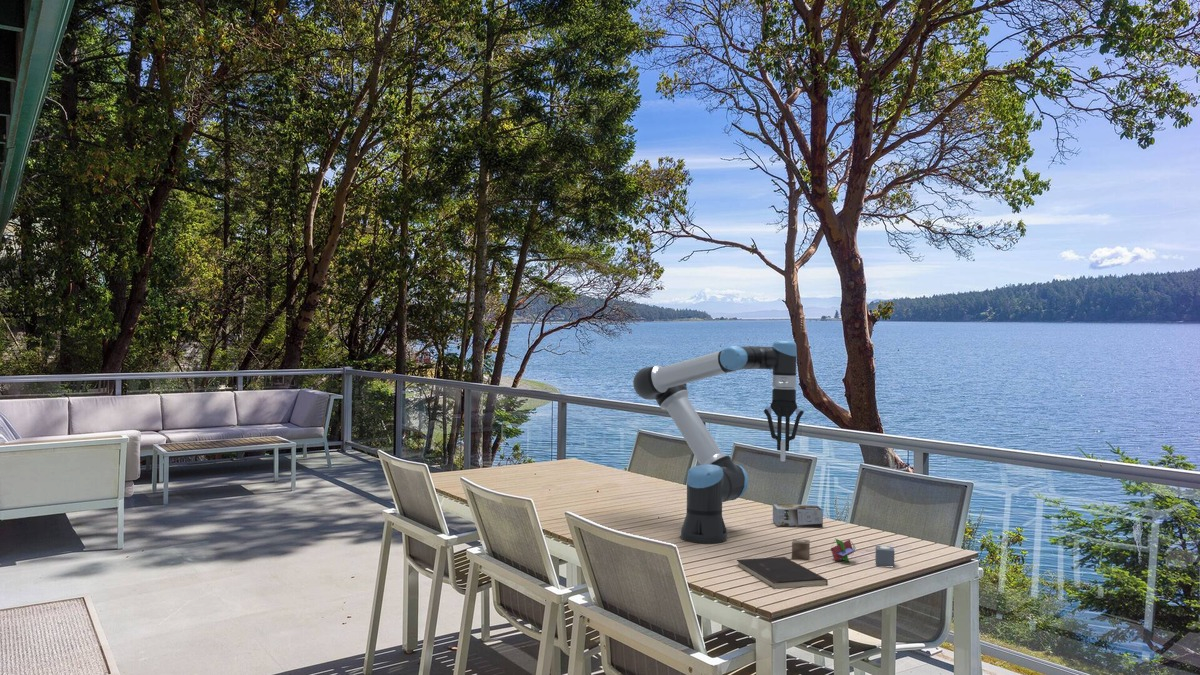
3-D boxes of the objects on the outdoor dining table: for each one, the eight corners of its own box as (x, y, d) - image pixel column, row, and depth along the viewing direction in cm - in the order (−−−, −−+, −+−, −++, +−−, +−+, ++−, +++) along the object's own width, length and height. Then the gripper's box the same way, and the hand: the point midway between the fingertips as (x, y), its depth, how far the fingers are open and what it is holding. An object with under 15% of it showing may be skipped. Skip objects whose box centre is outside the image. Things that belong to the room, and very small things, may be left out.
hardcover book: (773, 590, 224) (774, 582, 224) (736, 567, 246) (736, 559, 246) (827, 587, 228) (827, 578, 228) (786, 564, 250) (786, 556, 250)
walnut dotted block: (791, 559, 255) (792, 541, 255) (792, 555, 259) (792, 538, 259) (808, 560, 253) (809, 543, 253) (809, 556, 258) (809, 539, 258)
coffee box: (776, 526, 298) (822, 527, 297) (776, 508, 298) (823, 509, 297) (772, 521, 307) (817, 522, 306) (772, 503, 307) (817, 504, 307)
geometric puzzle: (832, 557, 248) (847, 535, 250) (820, 551, 255) (835, 530, 256) (849, 571, 250) (864, 549, 251) (837, 565, 257) (851, 543, 258)
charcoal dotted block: (876, 566, 248) (876, 548, 248) (875, 562, 253) (875, 544, 253) (894, 568, 247) (894, 550, 247) (893, 563, 252) (893, 546, 252)
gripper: (762, 388, 274) (761, 461, 274) (804, 389, 270) (803, 463, 270) (764, 387, 281) (763, 458, 281) (805, 388, 278) (803, 460, 278)
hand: (782, 460), depth 276 cm, fingers closed
